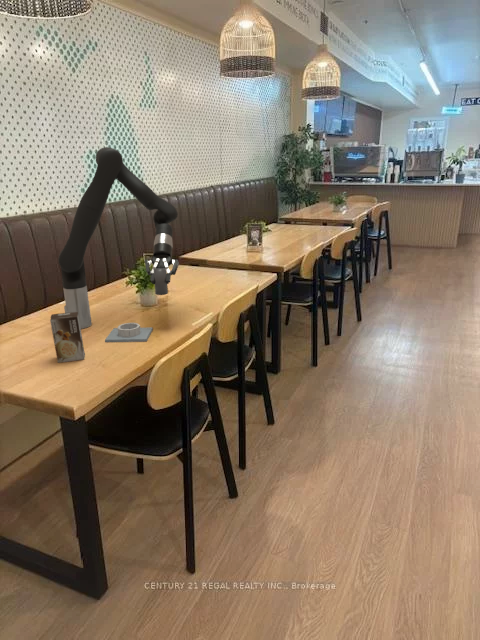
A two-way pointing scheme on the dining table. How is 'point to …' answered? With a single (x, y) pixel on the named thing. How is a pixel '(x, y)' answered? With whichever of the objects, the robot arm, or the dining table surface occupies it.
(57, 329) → the coffee box
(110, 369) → the dining table surface
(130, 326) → the grey ring socket base
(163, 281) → the dark grey cylinder
